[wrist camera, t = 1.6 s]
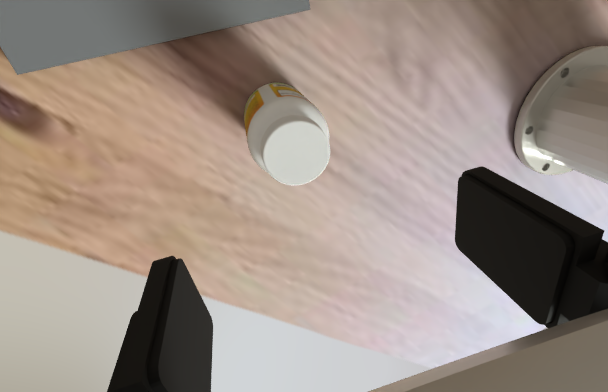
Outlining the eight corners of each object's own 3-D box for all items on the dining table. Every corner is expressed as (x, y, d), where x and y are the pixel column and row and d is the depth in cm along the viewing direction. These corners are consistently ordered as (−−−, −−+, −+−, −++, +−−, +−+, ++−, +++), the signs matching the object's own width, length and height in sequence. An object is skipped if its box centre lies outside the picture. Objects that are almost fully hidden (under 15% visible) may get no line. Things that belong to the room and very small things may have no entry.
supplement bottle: (261, 156, 28) (274, 210, 20) (231, 98, 25) (232, 133, 17) (316, 130, 28) (354, 174, 20) (293, 70, 25) (324, 90, 17)
